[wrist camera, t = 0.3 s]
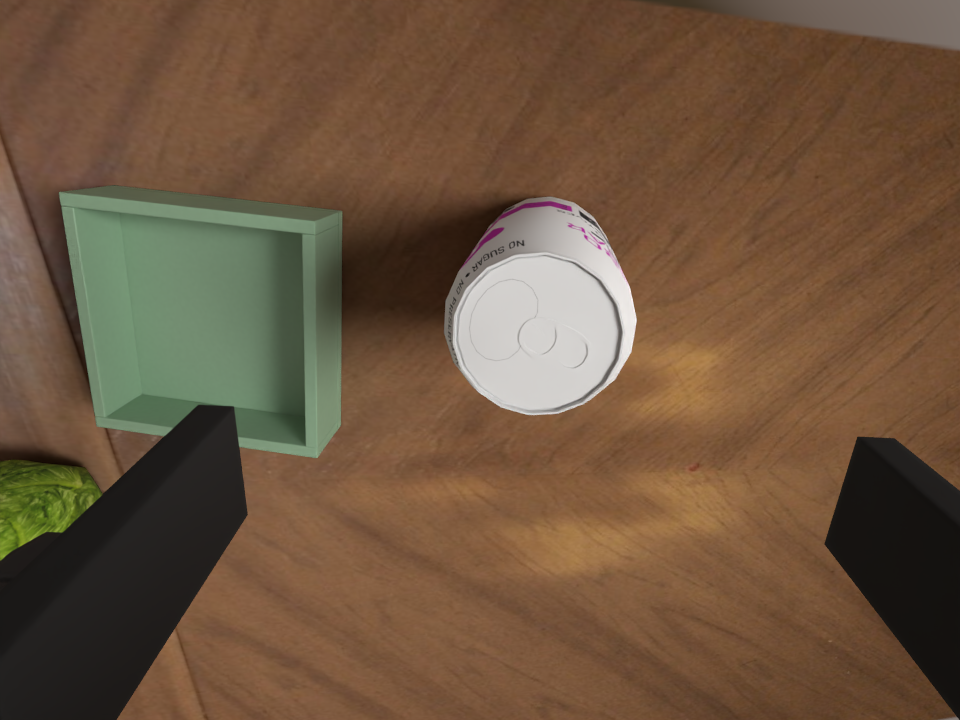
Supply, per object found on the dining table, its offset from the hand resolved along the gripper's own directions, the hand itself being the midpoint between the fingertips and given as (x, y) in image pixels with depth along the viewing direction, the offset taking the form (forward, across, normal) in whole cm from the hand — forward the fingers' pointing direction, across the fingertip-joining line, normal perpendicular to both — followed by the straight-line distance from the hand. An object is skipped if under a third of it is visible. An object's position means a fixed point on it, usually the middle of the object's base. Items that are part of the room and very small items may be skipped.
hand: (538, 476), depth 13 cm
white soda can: (+27, +2, -1) cm, 27 cm away
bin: (+29, -19, -6) cm, 35 cm away
